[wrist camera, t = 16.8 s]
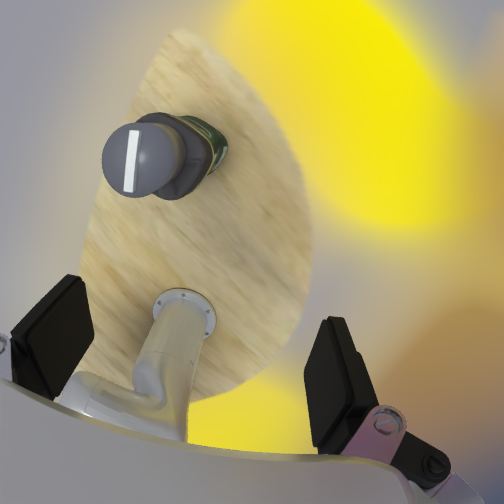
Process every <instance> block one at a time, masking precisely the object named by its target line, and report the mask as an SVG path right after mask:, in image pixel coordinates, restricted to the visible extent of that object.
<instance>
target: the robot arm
mask: <svg viewBox="0 0 504 504" xmlns="http://www.w3.org/2000/svg"><path fill="white" fill-rule="evenodd" d="M153 318H154V323H153V325H152V328H151V330H150V332H149V334H148V336H147V338H146V340H145V342H144V344H143V346H142V349H141V351H140V353H139V355H138V357H137V360H136V362H135V364H134V367H133V371H132V380H133V385H134V389H135V392H134V391H131V390H129V389H126V388H124V387H122V386H120V385H117V384H115V383H113V382H111V381H109V380H107V379H105V378H102V377H100V376H98V375H96V374H94V373H91V372H88V371H78V372H76V373H75V374H73V375H72V373H73V372H74V370H75V368H76V367H77V365H78V363H79V362H80V360H81V359H82V357H83V355H84V354H85V352H86V351H87V349H88V348H89V346H90V344H91V343H92V341H93V339H94V329H93V324H92V319H91V315H90V309H89V304H88V299H87V293H86V287H85V283H84V281H82V279H81V277H79V276H75V275H70V274H67V275H66V276H65V277H64V278H63V279H62V280H61V281H60V282H59V283H58V284H57V285H56V286H54V287H53V288H52V289H51V290H50V291H49V292H48V293H47V294H46V295H45V296H44V297H43V298H42V299H41V300H40V301H39V302H38V303H37V304H36V305H35V306H34V307H33V308H32V309H31V310H30V311H29V313H27V315H26V316H25V317H24V318H23V319H22V320H21V321H20V322H19V323H18V324H17V325H16V326H15V327H14V329H13V330H12V331H11V335H12V338H11V339H9V338H8V336H6V335H5V334H1V333H0V504H484V501H483V500H482V499H481V497H480V496H479V495H478V494H477V493H476V492H475V491H474V490H473V489H472V488H471V487H470V486H469V485H468V484H467V483H466V482H465V481H464V480H463V479H462V478H461V477H460V476H459V475H458V474H457V473H456V472H455V473H454V474H452V473H451V472H450V470H451V464H450V461H449V458H448V457H447V456H446V454H444V453H443V452H442V451H440V450H438V449H436V448H435V447H433V446H431V445H429V444H428V443H426V442H424V441H422V440H421V439H419V438H417V437H415V436H414V435H412V434H410V433H409V432H407V431H406V428H407V421H406V419H405V417H404V415H403V414H402V413H401V412H400V411H399V410H398V409H396V408H395V407H392V406H389V405H379V403H378V400H377V397H376V394H375V391H374V388H373V385H372V383H371V380H370V377H369V374H368V372H367V369H366V366H365V363H364V361H363V358H362V356H361V354H360V353H359V352H357V351H356V348H355V346H354V343H353V340H352V337H351V335H350V332H349V329H348V327H347V324H346V322H345V319H344V318H343V317H333V316H329V317H328V318H327V320H323V321H322V323H321V326H320V328H319V331H318V334H317V337H316V339H315V342H314V345H313V348H312V350H311V353H310V356H309V358H308V361H307V364H306V366H305V369H304V382H305V389H306V396H307V404H308V412H309V419H310V427H311V435H312V442H313V446H314V447H317V448H318V454H280V453H263V452H249V451H239V450H230V449H222V448H215V447H208V446H202V445H195V444H190V443H187V439H188V408H189V401H190V396H191V391H192V386H193V382H194V377H195V373H196V368H197V364H198V360H199V356H200V352H201V347H202V343H203V340H204V339H206V338H207V337H209V336H210V335H211V334H212V332H213V330H214V328H215V324H216V314H215V311H214V309H213V307H212V306H211V304H210V303H209V302H208V301H207V300H206V299H205V298H204V297H203V296H201V295H200V294H198V293H196V292H194V291H191V290H187V289H178V288H177V289H171V290H168V291H165V292H164V293H162V294H161V295H160V296H159V297H158V298H157V300H156V301H155V303H154V305H153ZM71 375H72V376H71ZM69 378H70V379H69ZM66 383H67V384H66ZM65 385H66V386H65ZM64 387H65V388H64ZM63 388H64V390H63ZM62 390H63V393H62V396H61V399H60V402H59V404H57V403H55V402H53V400H54V399H55V397H58V396H59V395H60V393H61V391H62ZM321 454H328V455H321Z"/></svg>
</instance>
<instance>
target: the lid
mask: <svg viewBox="0 0 504 504" xmlns="http://www.w3.org/2000/svg"><path fill="white" fill-rule="evenodd" d="M185 159H186V148H185V144H184V141H183V139H182V137H181V135H180V134H179V133H178V132H177V131H176V130H175V129H174V128H172V127H171V126H169V125H166V124H162V123H130V124H126V125H124V126H122V127H120V128H118V129H117V130H116V131H115V132H113V134H112V135H111V136H110V137H109V139H108V140H107V142H106V144H105V146H104V149H103V153H102V168H103V173H104V176H105V178H106V180H107V182H108V183H109V185H110V186H111V187H112V188H113V189H114V190H115V191H117V192H118V193H120V194H121V195H124V196H126V197H131V198H140V197H144V196H147V195H149V194H151V193H153V192H154V191H156V190H158V189H159V188H161V187H162V186H164V185H165V184H167V183H169V182H170V181H172V180H173V179H174V178H176V177H177V176H178V174H179V173H180V172H181V170H182V168H183V166H184V163H185Z"/></svg>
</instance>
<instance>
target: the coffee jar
mask: <svg viewBox="0 0 504 504" xmlns="http://www.w3.org/2000/svg"><path fill="white" fill-rule="evenodd" d="M135 123H162V124H166V125H169V126H171V127H172V128H174V129H175V130H176V131H177V132H178V133H179V134H180V135H181V137H182V139H183V141H184V144H185V148H186V159H185V163H184V166H183V168H182V170H181V172H180V173H179V174H178V176H177V177H176V178H174V179H173V180H172V181H170V182H169V183H167V184H165V185H164V186H162V187H161V188H159V189H158V190H156V191H154V192H153V193H152V194H154V195H156V196H157V197H159V198H162V199H165V200H177V199H180V198H182V197H184V196H185V195H187V194H190V193H191V192H193V191H194V190H195V189H196V188H197V187H198V186H199V185H200V184H201V183H202V181H203V180H204V179H205V177H206V176H207V175H209V174H210V173H212V172H213V171H214V170H215V169H216V168H217V167H218V165H219V164H220V163H221V161H222V160H223V158H224V156H225V154H226V152H227V147H228V145H227V141H226V139H225V137H224V136H223V135H222V134H221V133H220V132H219V131H217V130H216V129H215V128H213V127H212V126H211V125H209V124H207V123H206V122H204V121H202V120H200V119H198V118H196V117H193V116H174V115H170V114H166V113H161V112H158V113H151V114H147V115H145V116H143V117H141V118H140V119H139V120H137V121H136V122H135Z"/></svg>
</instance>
